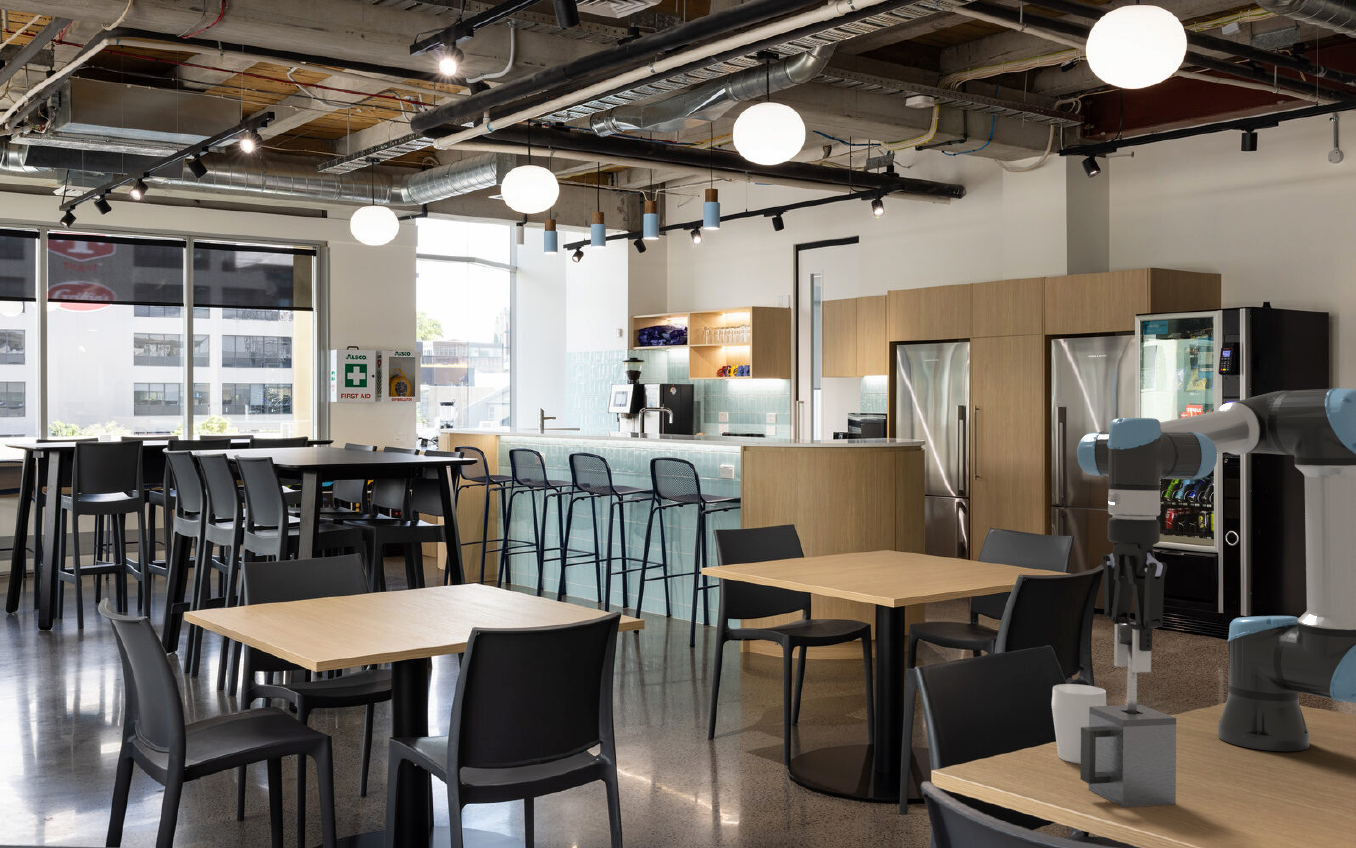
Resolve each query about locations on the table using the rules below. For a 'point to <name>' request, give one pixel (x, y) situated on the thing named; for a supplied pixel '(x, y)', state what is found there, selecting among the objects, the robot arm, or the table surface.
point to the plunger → (1129, 666)
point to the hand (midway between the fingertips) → (1132, 668)
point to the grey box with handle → (1130, 755)
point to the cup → (1073, 716)
